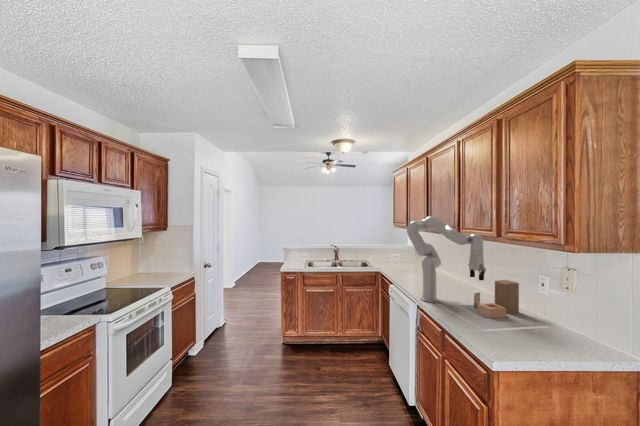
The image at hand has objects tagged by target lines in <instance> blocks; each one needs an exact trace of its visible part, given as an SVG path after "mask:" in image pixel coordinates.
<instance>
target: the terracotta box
mask: <svg viewBox="0 0 640 426" xmlns="http://www.w3.org/2000/svg"><path fill="white" fill-rule="evenodd" d="M478 313H480V314H482V315H484V316H486V317H488V318H490V319H502V318H501V317H506V315H507V314H506V308H504V307H502V306H500V305H497V304H495V302H484V303H483V302H482V303H481V302H480V303H478Z"/></svg>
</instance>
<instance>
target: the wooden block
mask: <svg viewBox="0 0 640 426" xmlns="http://www.w3.org/2000/svg"><path fill="white" fill-rule="evenodd" d="M519 302H520V283H519V282H517V281H512V280H509V279H508V280H507V279H500V280H499V279H497V280H494V303H495V304H497V305H500V306H502V307H504V308H506V315H512V314H518V313H519V312H520V311H519V310H520V305H519V304H520V303H519Z"/></svg>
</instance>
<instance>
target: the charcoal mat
mask: <svg viewBox="0 0 640 426" xmlns="http://www.w3.org/2000/svg"><path fill="white" fill-rule="evenodd" d="M459 306H460V307H462V308H464V309H466V310H467V311H468V312H471V313H473V314H476V315H477V316H479V317H482V318H483V319H485V320H488V319H491V318H488V317H486V316H484V315H482V314H480V313H478V308H474V304H465V305H464V304H463V305H459ZM504 318H505V319H507V318H510V316H509V315H508V314H506V317H501V318H500V319H504Z"/></svg>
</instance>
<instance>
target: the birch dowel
mask: <svg viewBox="0 0 640 426" xmlns="http://www.w3.org/2000/svg"><path fill="white" fill-rule="evenodd" d="M478 303H481V293H480V292H479V291H474V292H473V305H474V308H478Z"/></svg>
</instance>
